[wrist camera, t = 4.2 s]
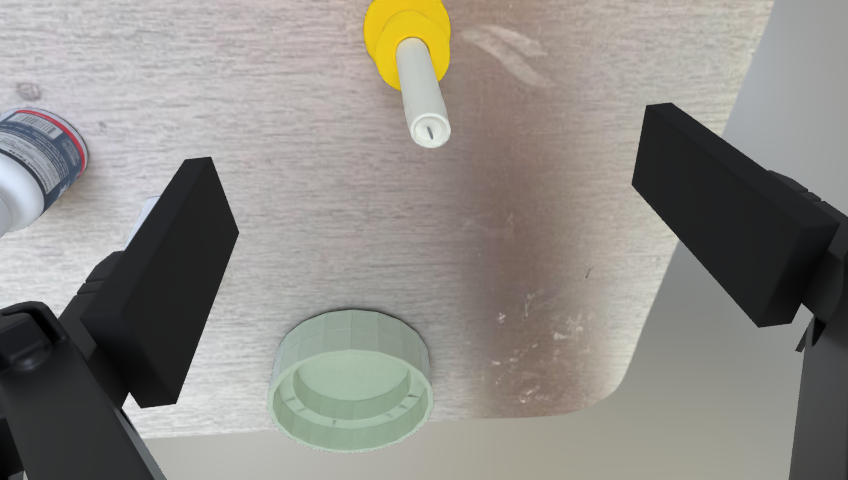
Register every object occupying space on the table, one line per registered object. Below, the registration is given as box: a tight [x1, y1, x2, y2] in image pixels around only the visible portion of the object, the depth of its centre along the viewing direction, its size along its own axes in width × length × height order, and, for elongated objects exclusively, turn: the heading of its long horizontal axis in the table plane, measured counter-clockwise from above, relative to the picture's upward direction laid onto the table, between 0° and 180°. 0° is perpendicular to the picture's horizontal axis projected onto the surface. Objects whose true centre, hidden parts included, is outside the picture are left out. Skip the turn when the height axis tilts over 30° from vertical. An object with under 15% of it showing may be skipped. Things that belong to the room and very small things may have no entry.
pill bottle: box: [0, 108, 87, 238], centre depth 28 cm, size 5×5×9 cm
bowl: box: [267, 310, 434, 453], centre depth 44 cm, size 14×14×5 cm
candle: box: [363, 0, 451, 148], centre depth 24 cm, size 5×5×16 cm
